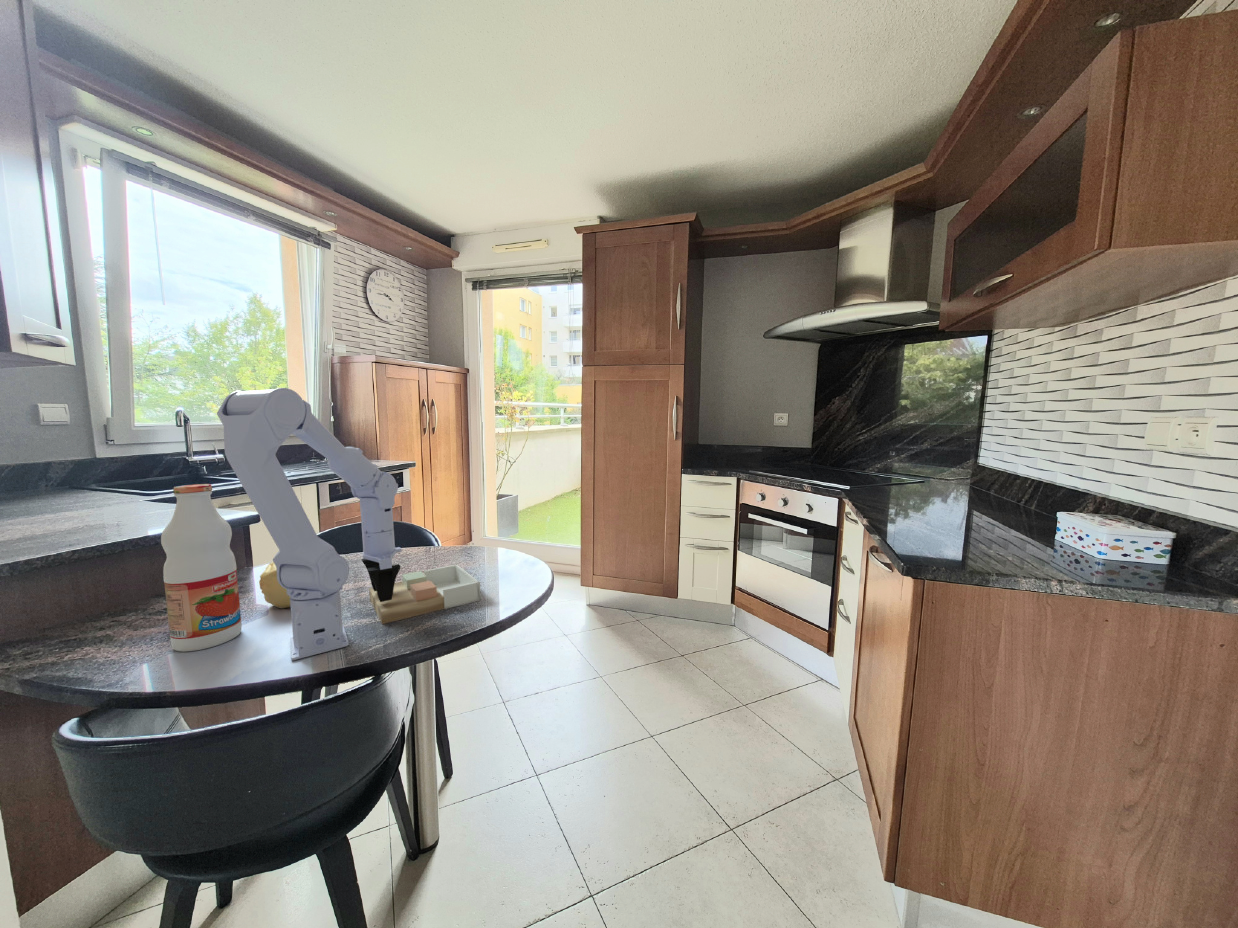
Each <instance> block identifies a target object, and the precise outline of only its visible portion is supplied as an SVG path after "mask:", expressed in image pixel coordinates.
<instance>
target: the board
mask: <svg viewBox="0 0 1238 928" xmlns="http://www.w3.org/2000/svg"><path fill="white" fill-rule="evenodd" d="M427 581H428V580H427ZM368 592H369V601H370V603H371V605H372V608H373V609H374V611H375V613H376V615H377V617H378V620H379V621H380V624H381V625H385V624H388V623H392V622H396V621H400V620H405V619H408V618H409V619H410V618H413V617H418V616H421V615H424V614H430V613H432V612H437V611H440V610H445V609H444V597H443V596H442V595H441V594H440V592H439V591H438V590H437V596H436V597H432V598H427V599H423V600H419V601H416V600H415V599H414V598H413V596H412V595H411V590H410V589H407V588H406V587H405V586H404V585H403V582H402V581H399V582H395V584H394V590H393V596H392V600H388V601H384V602H380V600H379V598H378V595H377V591H374V590H373V587H371V588H368Z"/></svg>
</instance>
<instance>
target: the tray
mask: <svg viewBox="0 0 1238 928" xmlns="http://www.w3.org/2000/svg"><path fill="white" fill-rule="evenodd" d="M423 574H424V575H425V576H426V579H427V580H428V581H431V582H432V583H433V584H434V585H435V586H436V588H437V590H438V591H439V592H440V594H441V595H442V596H443V597H444V609H443V610H447V609H451V608H455V607H459V606H463V605H466V604H471V603H475V602H479V601H481V600H482V599H481V598H482V597H481V596H482V595H481V582H480V581H479V580H478V579H477V578H475V577H474V576H473V575H471V574H470V573H469V572H467V571H466V570H465V569H464V568H462V567H461V566H460V565H458V564H452V565H446V566H441V567H437V568H432V569H425V570H424V573H423Z"/></svg>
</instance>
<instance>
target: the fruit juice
mask: <svg viewBox="0 0 1238 928" xmlns="http://www.w3.org/2000/svg"><path fill="white" fill-rule="evenodd" d="M212 494H213V486H212V484H210V483H200V484H198V483H196V484H186V485H178V486H174V487H173V496H174V497H175V498H176V505H175V509H174V513H173V515H172V518H171V520H170V522H169V523H168V524H167V525H166V526H165V528H164V529H163V531H162V532H161V536H160V544H161V546H162V549H163V551H164V552H165V554H166V560H165V562H164V564H163V571H162V572H163V573H162V574H163V584H164V590H165V591H164V592H165V594H164V595H165V599H166V600H165V601H166V603H165V604H166V612H167V621H168V629H169V639H170V645H171V648H172V649H173V650H174V651H176V652H180V653H181V652H182V653H183V652H193V651H194V652H195V651H201V650H205V649H209V648H212V647H215V646H219V645H222V644H224V643H227V642H229V641H231V640H233V639H234V638H236V637H238V636H239V635H240V634H241V632H242V627H243V626H242V625H243V624H242V614H241V613H242V612H241V604H240V594H239V593H240V592H239V584H238V583H239V582H238V572H237V570H238V569H237V563H236V561H237V560H236V557H235V554H234V552H233V551H232V548H231V546H230V544H231V540H232V537H233V531H232V527H231V525H230V524H229V522H228V521H227V520H226V519H225V518H223V516H221V515H220V513H219V512H218V510H217V509H216V508H217V507H215V505H214V503H213V501H212V497H211V495H212Z"/></svg>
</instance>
